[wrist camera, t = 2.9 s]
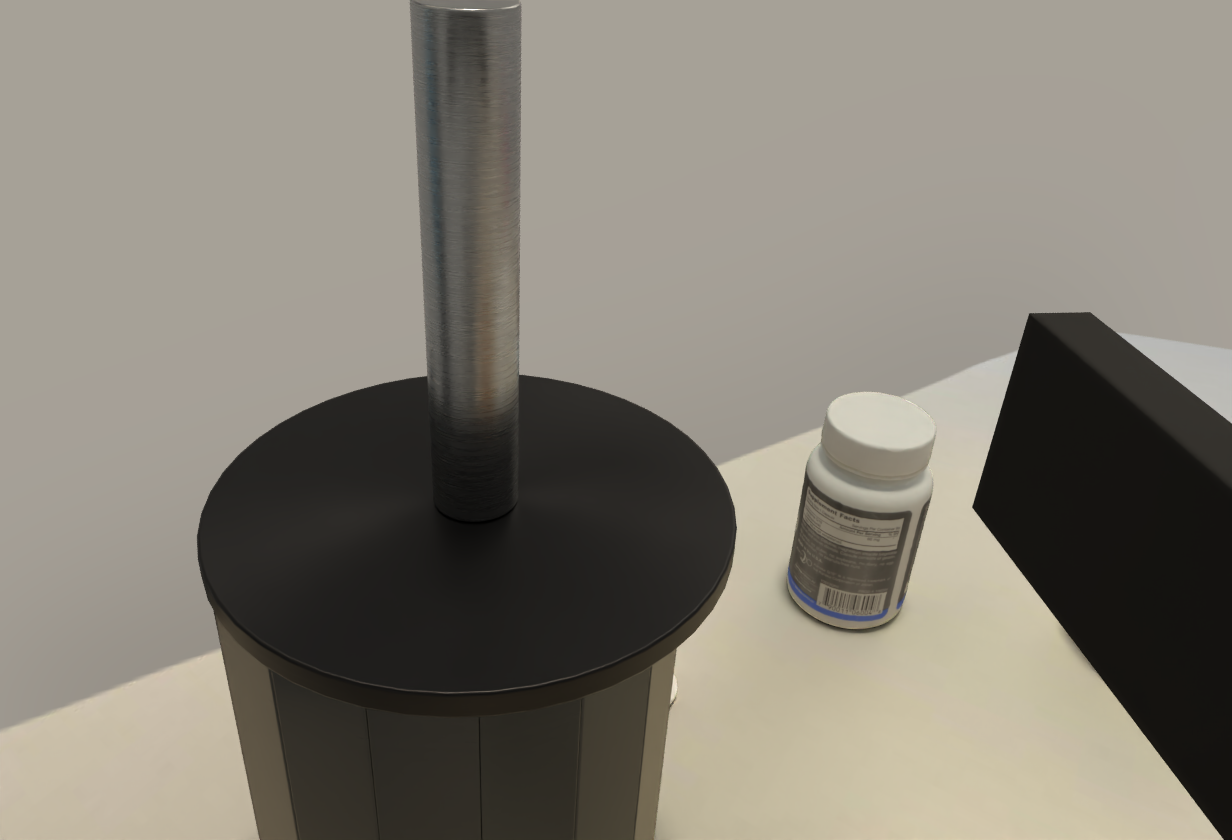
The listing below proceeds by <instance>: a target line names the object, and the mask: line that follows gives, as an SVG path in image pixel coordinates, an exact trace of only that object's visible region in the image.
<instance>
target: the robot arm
mask: <svg viewBox="0 0 1232 840" xmlns="http://www.w3.org/2000/svg"><path fill="white" fill-rule="evenodd" d="M972 508H973V509H974V510H975V512H976V513H977V514H978V516H979V517H980V518H981V520H982V521H983V522H984V524H985V525H986V526H987V528H988V529H989V530H990V531H991V533H992V534H993V535H994V537H995V538H996V539H997V541H998V542H999V543H1000V545H1001V546H1002V547H1003V549H1004V550H1005V551H1006V553H1007V554H1008V555H1009V557H1010V558H1011V559H1012V561H1013V562H1014V563H1015V564H1016V566H1017V567H1018V568H1019V570H1020V571H1021V572H1022V574H1023V575H1024V576H1025V578H1026V579H1027V580H1028V582H1029V583H1030V584H1031V586H1032V587H1033V588H1034V590H1035V591H1036V592H1037V594H1038V595H1039V596H1040V598H1041V599H1042V600H1043V601H1044V603H1045V604H1046V605H1047V607H1048V608H1049V609H1050V611H1051V612H1052V613H1053V615H1054V616H1055V617H1056V619H1057V620H1058V621H1059V623H1060V624H1061V625H1062V627H1063V628H1064V629H1065V631H1066V632H1067V633H1068V634H1069V636H1070V637H1071V638H1072V640H1073V641H1074V642H1075V644H1076V645H1077V646H1078V648H1079V649H1080V650H1081V652H1082V653H1083V654H1084V656H1085V657H1086V658H1087V660H1088V661H1089V662H1090V664H1091V665H1092V666H1093V668H1094V669H1095V670H1096V671H1097V673H1098V674H1099V675H1100V677H1101V678H1102V679H1103V681H1104V682H1105V683H1106V685H1107V686H1108V687H1109V689H1110V690H1111V691H1112V693H1113V694H1114V695H1115V697H1116V698H1117V699H1118V701H1119V702H1120V703H1121V704H1122V706H1123V707H1124V708H1125V710H1126V711H1127V712H1128V714H1129V715H1130V716H1131V718H1132V719H1133V720H1134V722H1135V723H1136V724H1137V726H1138V727H1139V728H1140V730H1141V731H1142V732H1143V734H1144V735H1145V736H1146V737H1147V739H1148V740H1149V741H1150V743H1151V744H1152V745H1153V747H1154V748H1155V749H1156V751H1157V752H1158V753H1159V755H1160V756H1161V757H1162V759H1163V760H1164V761H1165V763H1166V764H1167V765H1168V767H1169V768H1170V769H1171V771H1172V772H1173V773H1174V774H1175V776H1176V777H1177V778H1178V780H1179V781H1180V782H1181V784H1182V785H1183V786H1184V788H1185V789H1186V790H1187V792H1188V793H1189V794H1190V796H1191V797H1192V798H1193V800H1194V801H1195V802H1196V804H1197V805H1198V806H1199V807H1200V809H1201V810H1202V811H1203V813H1204V814H1205V815H1206V817H1207V818H1208V819H1209V821H1210V822H1211V823H1212V825H1213V826H1214V827H1215V829H1216V830H1217V831H1218V833H1219V834H1220V835H1221V837H1222V838H1223V839H1224V840H1232V424H1231V423H1230V422H1229V421H1228V420H1226V419H1225V418H1224V417H1223V416H1221V415H1220V414H1219V413H1217V412H1216V411H1215V410H1214V409H1212V408H1211V407H1210V406H1209V405H1207V404H1206V403H1205V402H1204V401H1202V400H1201V399H1200V398H1198V397H1197V396H1196V395H1195V394H1193V393H1192V392H1191V391H1190V390H1188V389H1187V388H1186V387H1184V386H1183V385H1182V384H1181V383H1179V382H1178V381H1177V380H1176V379H1174V378H1173V377H1172V376H1170V375H1169V374H1168V373H1167V372H1165V371H1164V370H1163V369H1162V368H1160V367H1159V366H1158V365H1156V364H1155V363H1154V362H1153V361H1151V360H1150V359H1149V358H1148V357H1146V356H1145V355H1144V354H1142V353H1141V352H1140V351H1139V350H1137V349H1136V348H1135V347H1134V346H1132V345H1131V344H1130V343H1128V342H1127V341H1126V340H1125V339H1123V338H1122V337H1121V336H1120V335H1118V334H1117V333H1116V332H1114V331H1113V330H1112V329H1111V328H1109V327H1108V326H1107V325H1105V324H1104V323H1103V322H1102V321H1100V320H1099V319H1098V318H1097V317H1095V316H1094V315H1093V314H1092V313H1090V312H1084V313H1035V314H1034V313H1030V314H1029V316H1028V320H1027V323H1026V326H1025V330H1024V333H1023V337H1022V340H1021V344H1020V347H1019V350H1018V354H1017V357H1016V360H1015V364H1014V367H1013V371H1012V374H1011V377H1010V381H1009V384H1008V388H1007V391H1006V394H1005V398H1004V401H1003V405H1002V408H1001V411H1000V415H999V418H998V422H997V425H996V428H995V432H994V435H993V439H992V442H991V446H990V449H989V452H988V456H987V459H986V463H985V466H984V469H983V473H982V476H981V480H980V483H979V486H978V490H977V493H976V497H975V500H974V503H973V507H972Z"/></svg>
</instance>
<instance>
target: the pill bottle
mask: <svg viewBox="0 0 1232 840" xmlns="http://www.w3.org/2000/svg"><path fill="white" fill-rule="evenodd" d="M935 437H936V425H935V423H934V421H933V419H932V418H931V416H929V414H928V413H927V412H926V411H925V410H923V409H922V408H920V407H919V406H917V405H916V404H914V403H912V402H910V401H908V400H905V399H902V398H900V397H896V396H893V395H889V394H884V393H878V392H857V393H850V394H846V395H843V396H841V397H839V398H837V399H835V400H834V401H833V402H832V403H831V404H830V405H829V407H828V409H827V412H826V417H825V421H824V425H823V429H822V438H821V443H819V444H818V445H817V446H816V447H815V448H814V449H813V451H812V452H811V454H810V456H809V459H808V461H807V465H806V471H805V478H804V484H803V489H802V495H801V501H800V507H799V512H798V518H797V524H796V529H795V536H794V541H793V546H792V552H791V557H790V562H789V567H788V574H787V585H788V589H789V592H790V594H791V596H792V598H793V599H794V600H795V602H796V603H797V604H798V605H799V606H800V607H801V608H802V609H803V610H804V611H806V612H807V613H808V614H810V615H812V616H813V617H815V618H817V619H818V620H820V621H822V622H824V623H827V624H830V625H833V626H837V627H841V628H847V629H866V628H872V627H876V626H879V625H882V624H884V623H886V622H888V621H889V620H891V619H892V618H893V617H894V616H895V615H896V614H897V613H898V612H899V611H900V609H901V607H902V604H903V601H904V598H905V595H906V591H907V587H908V583H909V579H910V575H911V571H912V567H913V564H914V560H915V556H916V552H917V548H918V545H919V541H920V538H921V533H922V530H923V526H924V521H925V518H926V515H927V511H928V507H929V504H930V500H931V496H932V491H933V476H932V472H931V469H930V467H929V465H928V464H929V460H930V457H931V454H932V449H933V445H934V441H935Z"/></svg>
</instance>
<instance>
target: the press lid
mask: <svg viewBox="0 0 1232 840" xmlns="http://www.w3.org/2000/svg"><path fill="white" fill-rule="evenodd" d="M410 16H411V37H412V59H413V79H414V100H415V121H416V143H417V164H418V186H419V207H420V228H421V247H422V248H421V249H422V271H423V292H424V312H425V334H426V355H427V376H425V377H417V378H409V379H404V380H399V381H393V382H389V383H383V384H379V385H375V386H371V387H367V388H364V389H360V390H356V391H353V392H350V393H347V394H344V395H341V396H338V397H335V398H332V399H330V400H327V401H325V402H322V403H320V404H318V405H315V406H313V407H311V408H308V409H306V410H304V411H302V412H300V413H298V414H296V415H295V416H293V417H291V418H289V419H287V420H285V421H283V422H282V423H280V424H278V425H277V426H275V427H274V428H272V429H271V430H269V431H268V432H266V433H265V434H263V435H262V436H260V437H259V438H258V439H256V440H255V441H254V442H253V443H252V444H251V445H249V446H248V447H247V448H246V449H245V450H244V451H242V452H241V453H240V454H239V455H238V456H237V457H236V458H235V460H234V461H233V462H232V463H231V464H230V465H229V466H228V467H227V468H226V470H225V471H224V472H223V473H222V475H221V476H220V478H219V479H218V481H217V483H216V484H215V486H214V487H213V489H212V490H211V492H210V494H209V496H208V499H207V501H206V504H205V506H204V509H203V511H202V513H201V518H200V523H199V528H198V534H197V547H198V562H199V566H200V571H201V576H202V580H203V583H204V587H205V590H206V594H207V598H208V601H209V602H210V604H211V606H212V608H213V610H214V612H215V614H216V616H217V617H218V619H219V621H220V623H221V624H222V625H223V626H224V627H225V629H226V630H227V631H228V632H229V633H230V635H231V636H232V637H233V638H234V639H235V641H236V642H237V643H238V644H239V645H240V646H241V647H242V648H243V649H245V650H246V651H247V652H248V653H249V654H251V655H252V656H253V657H254V658H255V659H257V660H258V661H259V662H260V663H261V664H263V665H264V666H266V667H267V668H269V669H271V670H272V671H274V672H276V673H277V674H279V675H281V676H282V677H284V678H286V679H287V680H289V681H291V682H292V683H295V684H297V685H299V686H302V687H304V688H306V689H309V690H311V691H313V692H316V693H318V694H320V695H323V696H325V697H328V698H331V699H335V700H338V701H342V702H345V703H349V704H352V705H356V706H359V707H363V708H367V709H373V710H379V711H385V712H391V713H396V714H402V715H413V716H428V717H443V718H457V717H485V716H497V715H504V714H512V713H519V712H526V711H534V710H538V709H542V708H546V707H550V706H554V705H558V704H562V703H567V702H571V701H574V700H577V699H580V698H583V697H586V696H588V695H591V694H594V693H597V692H600V691H602V690H605V689H608V688H611V687H613V686H615V685H617V684H619V683H621V682H623V681H625V680H627V679H629V678H631V677H633V676H635V675H637V674H639V673H641V672H643V671H645V670H646V669H648V668H649V667H651V666H652V665H654V664H655V663H657V662H658V661H660V660H661V659H663V658H664V657H666V656H667V655H669V654H670V653H672V652H673V651H674V650H675V649H676V648H677V647H678V646H680V645H681V644H682V643H683V642H684V641H685V640H686V639H687V638H689V637H690V636H691V635H692V634H693V633H694V632H695V631H696V630H697V628H698V627H699V626H700V625H701V624H702V622H703V621H704V620H705V619H706V617H707V616H708V615H709V614H710V613H711V611H712V610H713V608H714V607H715V605H716V603H717V601H718V599H719V598H720V596H721V594H722V592H723V590H724V589H725V586H726V583H727V580H728V577H729V574H730V571H731V568H732V562H733V556H734V549H735V539H736V530H737V526H736V517H735V508H734V505H733V502H732V499H731V496H730V493H729V490H728V487H727V485H726V483H725V481H724V479H723V477H722V476H721V474H720V472H719V470H718V468H717V467H716V466H715V464H714V463H713V462H712V461H711V459H710V458H709V457H708V456H707V454H706V453H705V452H704V451H703V450H702V449H701V448H700V447H699V446H698V445H697V444H696V443H695V442H694V441H693V440H692V439H691V438H689V437H688V436H687V435H686V434H684V433H683V432H682V431H680V430H679V429H678V428H676V427H675V426H674V425H672V424H671V423H669V422H668V421H666V420H664V419H663V418H661V417H659V416H658V415H656V414H654V413H652V412H651V411H649V410H647V409H645V408H643V407H640V406H638V405H636V404H634V403H632V402H629V401H627V400H625V399H622V398H620V397H617V396H614V395H611V394H609V393H606V392H603V391H600V390H596V389H593V388H589V387H585V386H582V385H578V384H574V383H569V382H564V381H559V380H554V379H549V378H540V377H534V376H526V375H519V279H520V276H519V275H520V274H519V273H520V265H519V264H520V132H521V129H520V127H521V121H520V120H521V2H520V1H519V0H410Z"/></svg>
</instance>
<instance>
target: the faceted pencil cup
mask: <svg viewBox="0 0 1232 840" xmlns="http://www.w3.org/2000/svg"><path fill="white" fill-rule="evenodd" d="M214 615H215V620H216V625H217V630H218V635H219V640H220V645H221V650H222V655H223V660H224V665H225V670H226V675H227V680H228V685H229V690H230V695H231V700H232V705H233V710H234V715H235V720H236V725H237V730H238V734H239V739H240V744H241V749H242V754H243V759H244V764H245V769H246V774H247V779H248V784H249V789H250V794H251V799H252V804H253V809H254V814H255V819H256V824H257V829H258V834H259V839H260V840H654V834H655V826H656V817H657V809H658V801H659V792H660V784H661V775H662V767H663V758H664V750H665V742H666V733H667V725H668V716H669V708H670V699H671V691H672V683H673V674H674V666H675V657H676V649H677V648H676V649H675V650H674V651H673V652H672V653H670V654H669V655H667V656H666V657H664V658H663V659H661V660H660V661H658V662H657V663H655V664H654V665H652V666H651V667H649V668H648V669H646V670H645V671H643V672H641V673H639V674H637V675H635V676H633V677H631V678H629V679H627V680H625V681H623V682H621V683H619V684H617V685H615V686H613V687H611V688H608V689H605V690H602V691H600V692H597V693H594V694H591V695H588V696H586V697H583V698H580V699H577V700H574V701H571V702H567V703H562V704H558V705H554V706H550V707H546V708H542V709H538V710H534V711H526V712H519V713H512V714H504V715H497V716H485V717H457V718H443V717H428V716H413V715H402V714H396V713H391V712H385V711H379V710H373V709H367V708H363V707H359V706H356V705H352V704H349V703H345V702H342V701H338V700H335V699H331V698H328V697H325V696H323V695H320V694H318V693H316V692H313V691H311V690H309V689H306V688H304V687H302V686H299V685H297V684H295V683H292V682H291V681H289V680H287V679H286V678H284V677H282V676H281V675H279V674H277V673H276V672H274V671H272V670H271V669H269V668H267V667H266V666H264V665H263V664H261V663H260V662H259V661H258V660H257V659H255V658H254V657H253V656H252V655H251V654H249V653H248V652H247V651H246V650H245V649H243V648H242V647H241V646H240V645H239V644H238V643H237V642H236V641H235V639H234V638H233V637H232V636H231V635H230V633H229V632H228V631H227V630H226V629H225V627H224V626H223V625H222V624H221V623H220V621H219V619H218V617H217V616H216V614H215V612H214Z"/></svg>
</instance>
